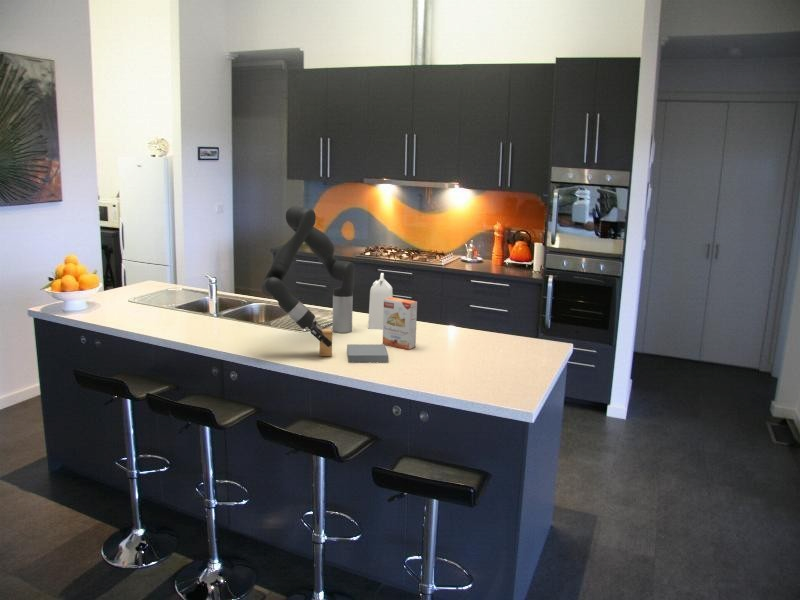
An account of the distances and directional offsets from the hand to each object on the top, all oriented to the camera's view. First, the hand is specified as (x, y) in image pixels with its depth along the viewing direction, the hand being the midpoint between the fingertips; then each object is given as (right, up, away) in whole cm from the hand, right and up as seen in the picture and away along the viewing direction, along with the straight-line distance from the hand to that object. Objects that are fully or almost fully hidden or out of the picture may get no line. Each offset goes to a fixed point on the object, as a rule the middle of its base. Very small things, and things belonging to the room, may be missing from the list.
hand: (330, 343), depth 277 cm
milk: (+19, +5, +52) cm, 55 cm away
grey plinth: (+15, -6, +1) cm, 16 cm away
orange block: (-2, -5, +1) cm, 5 cm away
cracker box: (+28, -3, +18) cm, 34 cm away
